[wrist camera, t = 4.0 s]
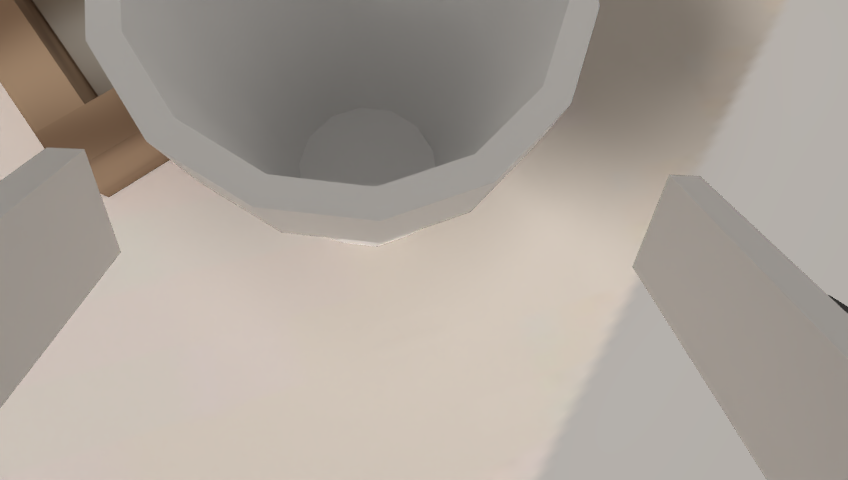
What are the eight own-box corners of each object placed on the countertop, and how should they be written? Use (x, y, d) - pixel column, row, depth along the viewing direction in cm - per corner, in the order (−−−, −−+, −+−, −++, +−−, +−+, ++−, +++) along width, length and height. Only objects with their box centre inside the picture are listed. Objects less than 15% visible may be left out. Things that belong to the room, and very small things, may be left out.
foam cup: (298, 312, 21) (160, 295, 8) (233, 114, 22) (20, -182, 9) (504, 238, 22) (675, 120, 9) (432, 55, 23) (495, -278, 10)
